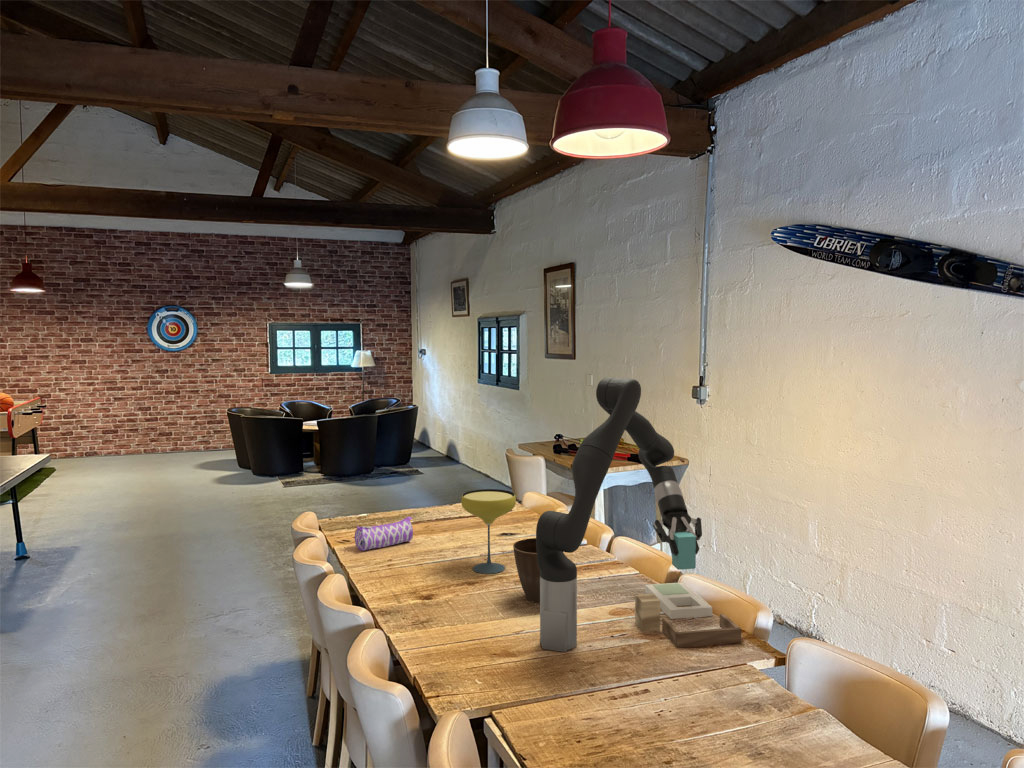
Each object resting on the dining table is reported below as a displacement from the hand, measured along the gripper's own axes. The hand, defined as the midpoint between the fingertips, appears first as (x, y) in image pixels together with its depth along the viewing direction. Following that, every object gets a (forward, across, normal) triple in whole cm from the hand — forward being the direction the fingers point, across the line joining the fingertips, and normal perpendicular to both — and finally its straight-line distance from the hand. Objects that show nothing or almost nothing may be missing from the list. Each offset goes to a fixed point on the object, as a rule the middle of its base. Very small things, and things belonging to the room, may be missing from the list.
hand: (686, 553), depth 191 cm
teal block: (+2, 0, +4) cm, 5 cm away
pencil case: (-45, -85, +70) cm, 118 cm away
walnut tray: (+22, -1, +3) cm, 22 cm away
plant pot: (-1, -38, +26) cm, 46 cm away
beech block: (+16, -13, +9) cm, 22 cm away
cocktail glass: (-22, -49, +47) cm, 71 cm away
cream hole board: (+6, +1, +19) cm, 20 cm away
